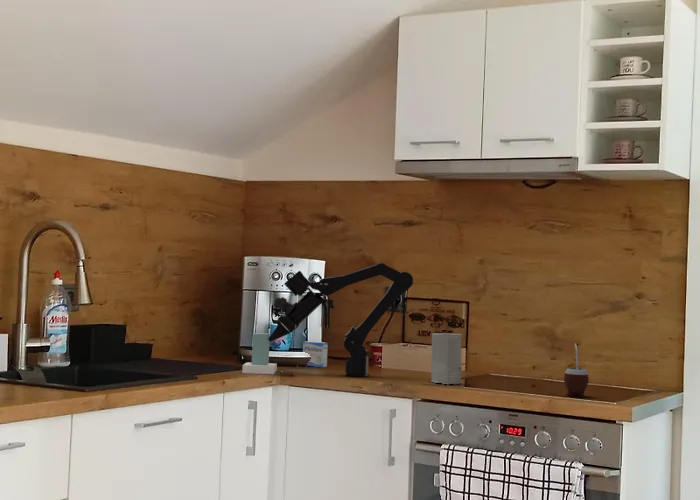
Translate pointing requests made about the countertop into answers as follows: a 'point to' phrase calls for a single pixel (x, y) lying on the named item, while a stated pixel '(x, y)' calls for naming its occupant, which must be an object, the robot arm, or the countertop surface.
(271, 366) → the grey plinth
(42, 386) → the countertop surface
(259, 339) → the teal block
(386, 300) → the robot arm
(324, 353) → the medicine box
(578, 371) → the mate gourd
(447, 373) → the skincare box
